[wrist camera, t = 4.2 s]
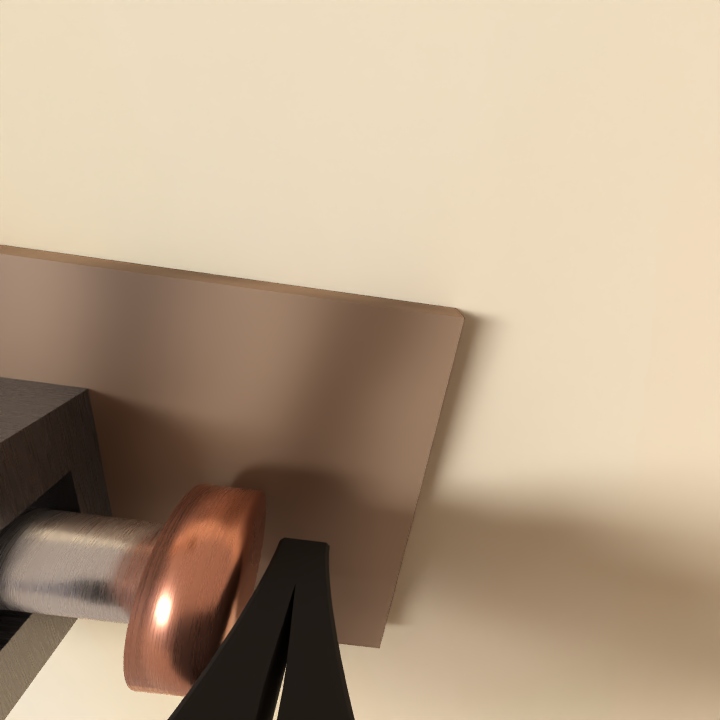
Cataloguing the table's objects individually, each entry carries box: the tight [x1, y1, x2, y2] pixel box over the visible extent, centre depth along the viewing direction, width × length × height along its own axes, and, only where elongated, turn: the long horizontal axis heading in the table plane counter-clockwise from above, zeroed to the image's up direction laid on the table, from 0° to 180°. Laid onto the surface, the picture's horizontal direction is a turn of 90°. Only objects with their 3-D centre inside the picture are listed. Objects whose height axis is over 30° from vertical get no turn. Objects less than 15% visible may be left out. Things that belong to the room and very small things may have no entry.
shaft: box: [0, 484, 266, 697], centre depth 9 cm, size 10×4×4 cm, turn 82°
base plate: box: [0, 245, 465, 648], centre depth 12 cm, size 19×14×1 cm
